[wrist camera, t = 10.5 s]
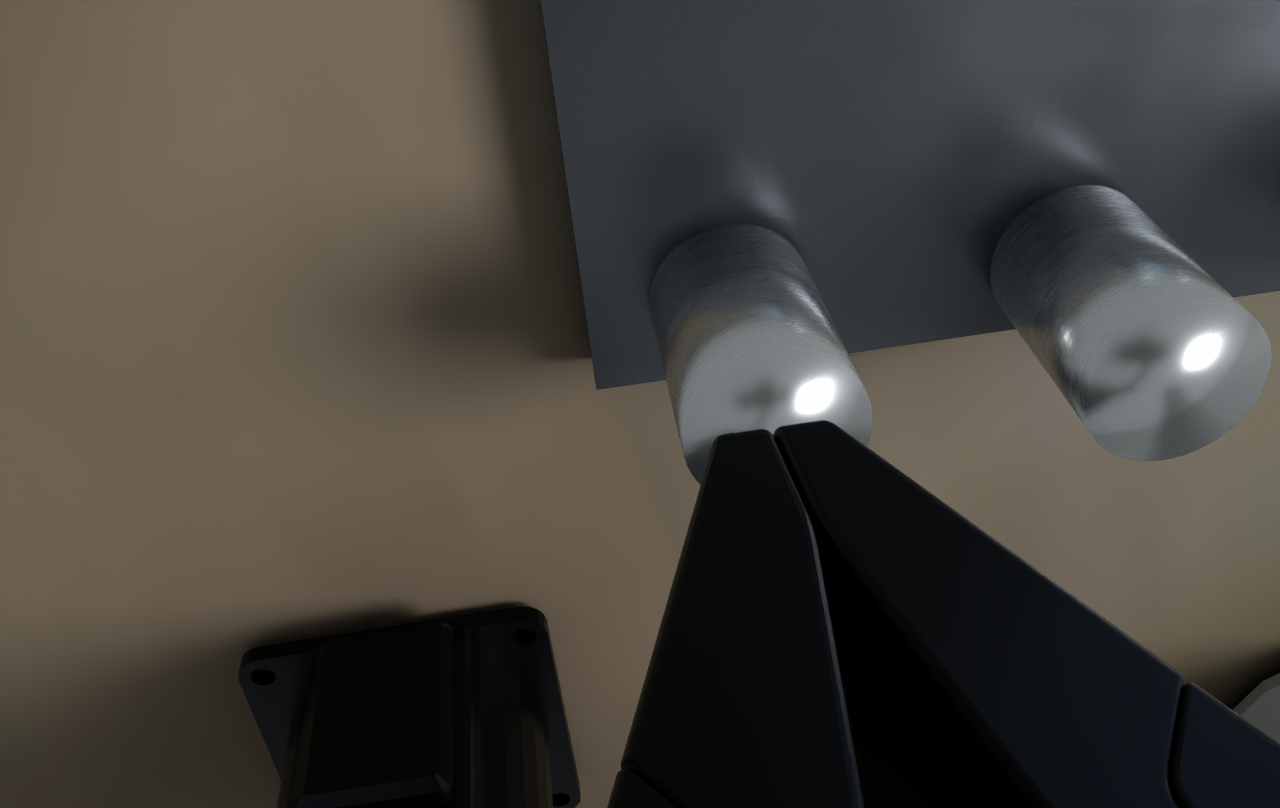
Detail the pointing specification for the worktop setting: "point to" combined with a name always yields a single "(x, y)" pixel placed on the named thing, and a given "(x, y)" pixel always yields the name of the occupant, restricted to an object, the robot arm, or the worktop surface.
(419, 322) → the worktop surface
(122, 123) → the worktop surface
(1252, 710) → the water bottle
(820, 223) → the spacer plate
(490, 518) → the worktop surface
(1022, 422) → the worktop surface
